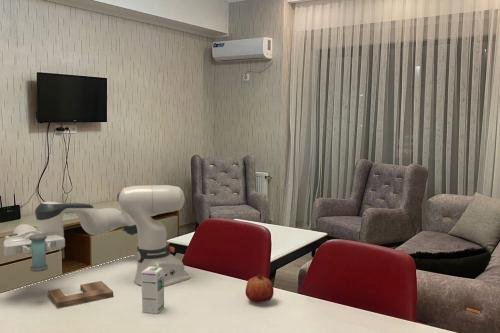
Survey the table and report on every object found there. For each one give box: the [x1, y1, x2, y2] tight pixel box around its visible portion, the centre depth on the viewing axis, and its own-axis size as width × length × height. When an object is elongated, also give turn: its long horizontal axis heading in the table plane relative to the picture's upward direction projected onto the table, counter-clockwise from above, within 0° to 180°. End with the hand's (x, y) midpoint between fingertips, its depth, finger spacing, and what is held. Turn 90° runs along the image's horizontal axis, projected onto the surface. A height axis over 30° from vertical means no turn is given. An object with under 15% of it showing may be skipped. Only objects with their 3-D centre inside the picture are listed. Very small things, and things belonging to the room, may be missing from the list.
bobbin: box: [29, 234, 49, 273], centre depth 164 cm, size 6×6×12 cm
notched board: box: [47, 280, 114, 309], centre depth 172 cm, size 20×14×2 cm
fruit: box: [245, 273, 274, 304], centre depth 169 cm, size 11×10×10 cm
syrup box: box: [141, 267, 165, 315], centre depth 160 cm, size 6×6×14 cm
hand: (39, 250), depth 163 cm, fingers closed on bobbin, 4 cm apart
